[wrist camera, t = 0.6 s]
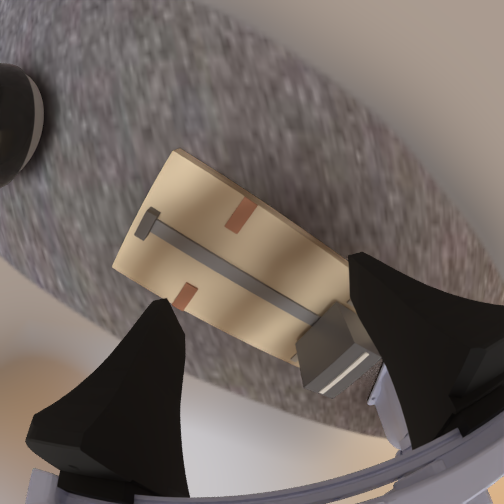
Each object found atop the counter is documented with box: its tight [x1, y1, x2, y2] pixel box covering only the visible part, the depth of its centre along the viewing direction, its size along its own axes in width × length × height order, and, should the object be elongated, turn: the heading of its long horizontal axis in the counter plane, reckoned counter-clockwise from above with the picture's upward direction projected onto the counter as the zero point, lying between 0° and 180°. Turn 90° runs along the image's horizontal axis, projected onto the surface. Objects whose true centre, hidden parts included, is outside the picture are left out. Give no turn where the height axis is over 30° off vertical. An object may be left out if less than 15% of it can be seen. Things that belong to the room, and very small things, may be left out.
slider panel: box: [112, 148, 357, 368], centre depth 22 cm, size 22×10×3 cm, turn 55°
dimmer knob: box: [295, 301, 382, 399], centre depth 20 cm, size 3×5×5 cm, turn 145°
